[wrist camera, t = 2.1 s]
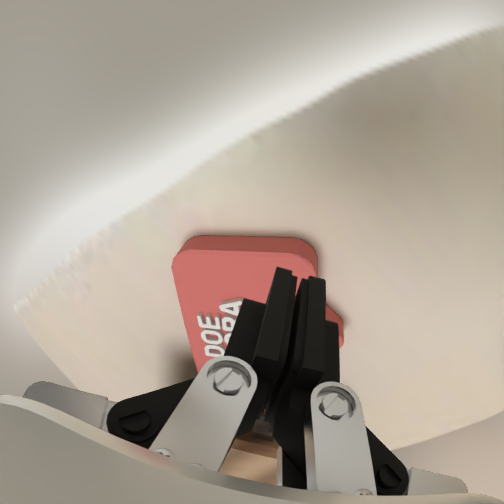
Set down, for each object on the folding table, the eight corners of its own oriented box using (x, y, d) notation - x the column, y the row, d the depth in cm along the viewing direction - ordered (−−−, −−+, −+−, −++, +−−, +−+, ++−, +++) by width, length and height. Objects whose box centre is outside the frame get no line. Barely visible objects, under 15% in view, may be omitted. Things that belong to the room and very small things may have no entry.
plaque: (333, 404, 31) (199, 390, 34) (334, 378, 34) (209, 366, 37) (355, 259, 23) (164, 252, 26) (351, 236, 26) (181, 232, 29)
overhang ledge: (332, 393, 35) (327, 468, 26) (301, 436, 41) (292, 497, 32) (171, 347, 36) (135, 414, 28) (169, 399, 42) (143, 454, 34)
